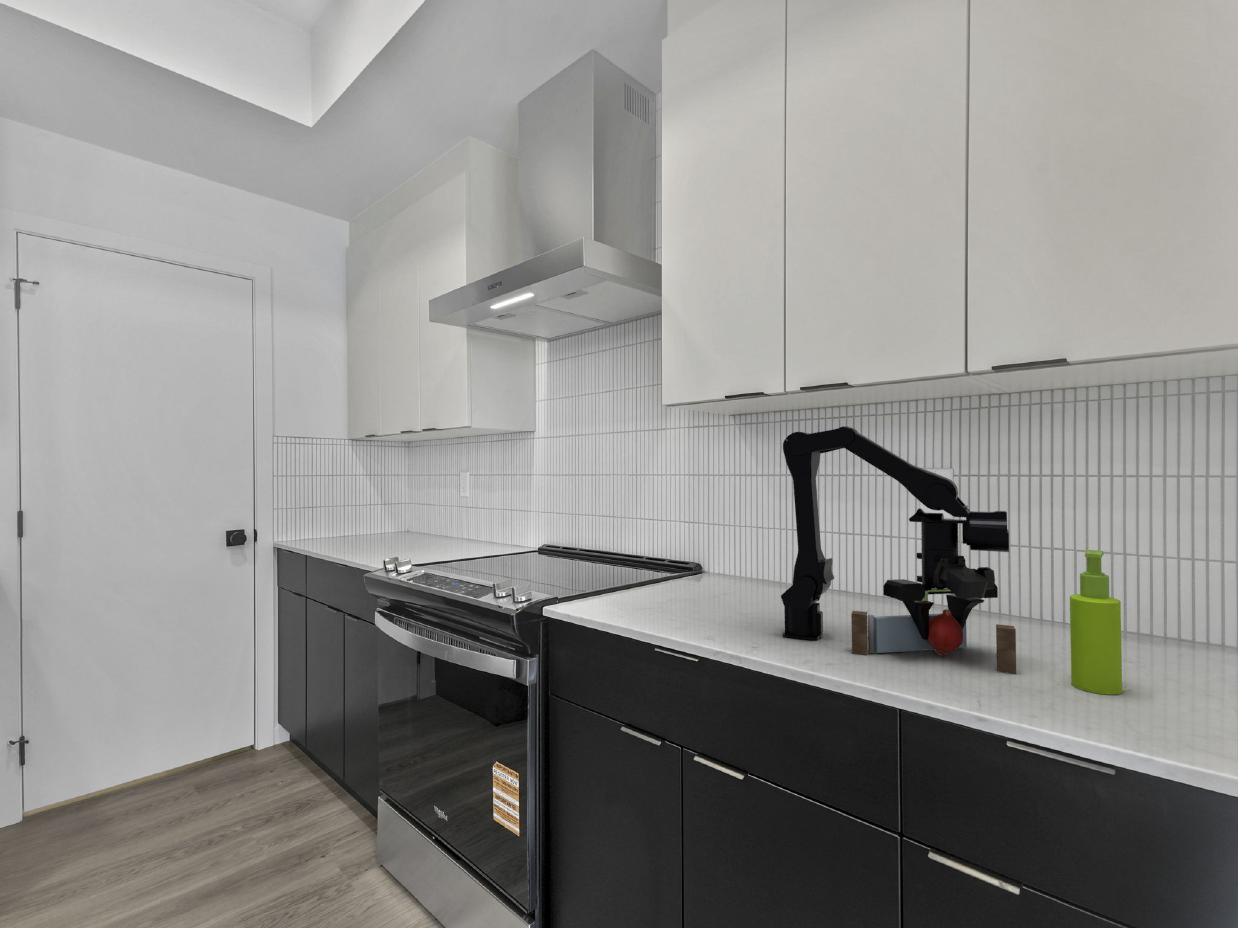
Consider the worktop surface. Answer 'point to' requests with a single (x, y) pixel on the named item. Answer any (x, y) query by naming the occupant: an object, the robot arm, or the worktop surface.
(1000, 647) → the door frame
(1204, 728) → the worktop surface
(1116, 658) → the soap dispenser
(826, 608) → the worktop surface
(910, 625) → the door
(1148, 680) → the worktop surface
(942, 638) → the onion
